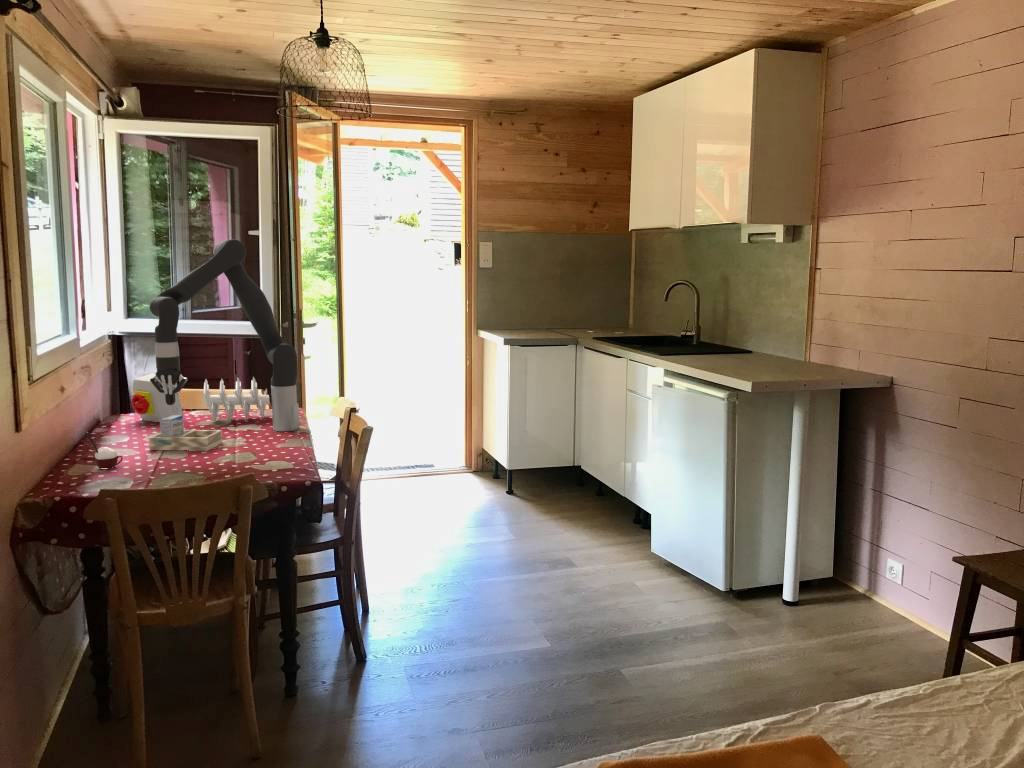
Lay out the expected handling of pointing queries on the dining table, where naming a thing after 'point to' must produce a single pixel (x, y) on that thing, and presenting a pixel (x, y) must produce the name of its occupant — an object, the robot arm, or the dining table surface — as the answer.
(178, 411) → the electrical switch box
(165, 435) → the medicine box
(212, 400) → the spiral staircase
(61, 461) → the dining table surface
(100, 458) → the cocoa
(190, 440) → the rack
